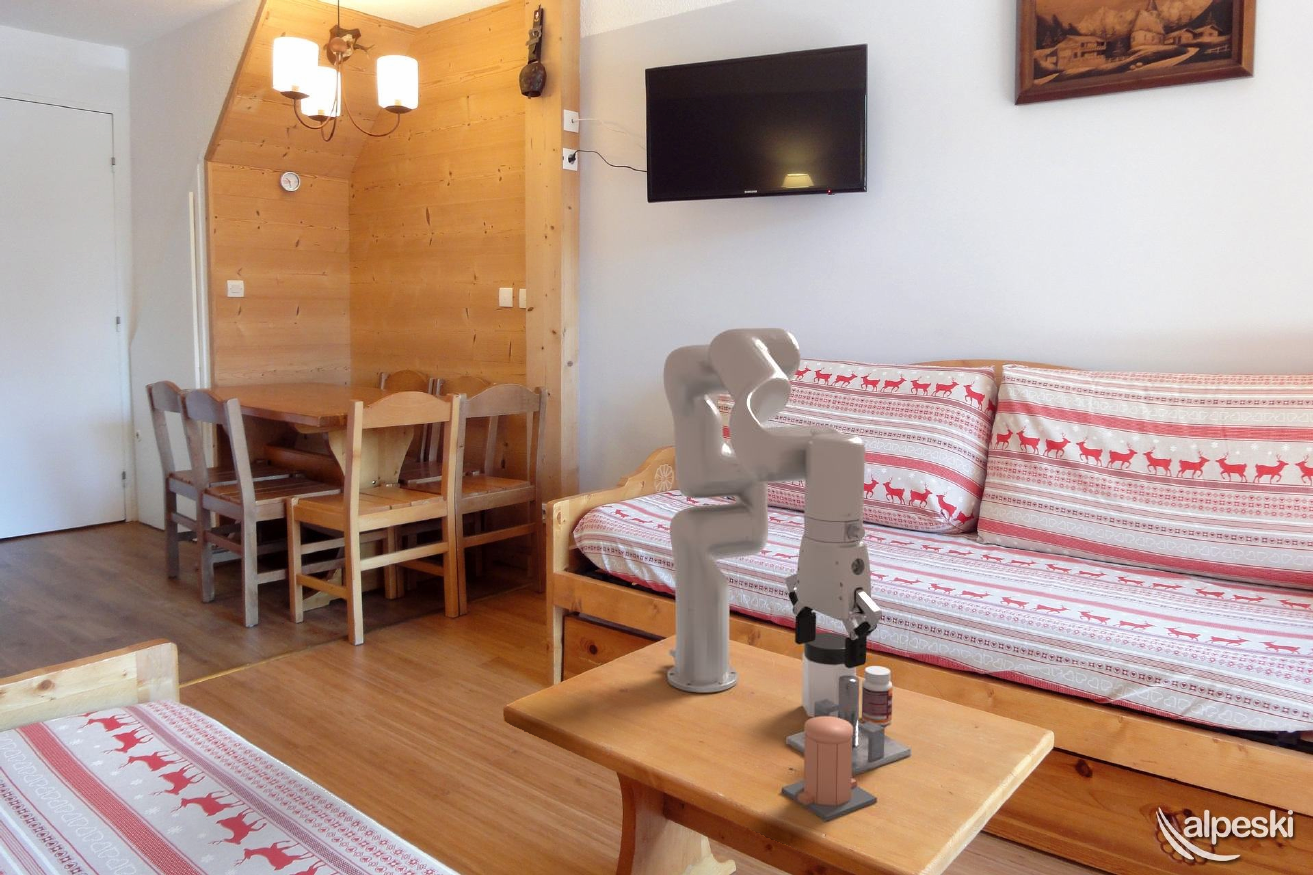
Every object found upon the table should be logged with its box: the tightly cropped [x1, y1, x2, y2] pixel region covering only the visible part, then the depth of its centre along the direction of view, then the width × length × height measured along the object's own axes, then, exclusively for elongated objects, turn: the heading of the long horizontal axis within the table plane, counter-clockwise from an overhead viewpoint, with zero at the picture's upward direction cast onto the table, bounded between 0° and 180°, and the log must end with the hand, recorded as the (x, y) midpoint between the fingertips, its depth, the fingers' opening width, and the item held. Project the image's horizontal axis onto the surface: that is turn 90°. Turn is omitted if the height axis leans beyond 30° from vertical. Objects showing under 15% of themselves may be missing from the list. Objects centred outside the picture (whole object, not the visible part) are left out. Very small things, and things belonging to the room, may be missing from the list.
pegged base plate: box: [786, 675, 912, 777], centre depth 141 cm, size 13×13×11 cm
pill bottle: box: [861, 665, 893, 727], centre depth 151 cm, size 5×5×8 cm
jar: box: [801, 632, 857, 718], centre depth 154 cm, size 9×8×12 cm
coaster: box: [781, 779, 878, 822], centre depth 127 cm, size 9×9×1 cm
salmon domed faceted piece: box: [798, 716, 858, 806], centre depth 127 cm, size 9×6×10 cm
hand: (829, 653), depth 125 cm, fingers open, 9 cm apart
